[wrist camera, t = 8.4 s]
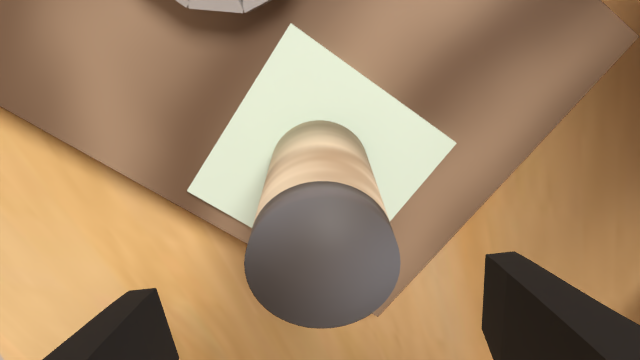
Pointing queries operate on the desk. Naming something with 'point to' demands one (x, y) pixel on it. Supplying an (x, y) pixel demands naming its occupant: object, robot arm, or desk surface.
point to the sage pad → (309, 105)
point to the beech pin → (321, 231)
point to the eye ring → (224, 5)
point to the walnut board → (339, 38)
